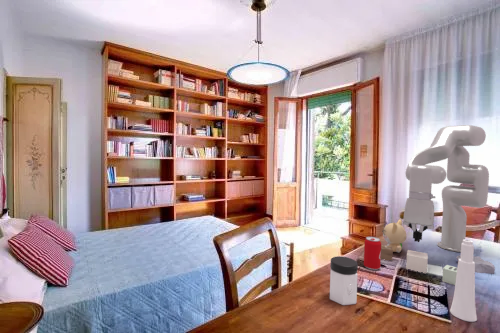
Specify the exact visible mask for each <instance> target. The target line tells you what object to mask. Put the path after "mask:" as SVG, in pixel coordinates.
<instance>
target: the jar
mask: <svg viewBox="0 0 500 333" xmlns="http://www.w3.org/2000/svg"><path fill="white" fill-rule="evenodd" d="M358 270H359V264H358V262H357V261H356V260H355V259H353V258H351V257H346V256H339V255H338V256H334V257H332V258H330V275H329V277H330V278H329V281H330V282H329V300H330V301H333V302H335V303H337V304H339V305H341V306H349V305H356V304H357V296H358V295H357V294H358Z"/></svg>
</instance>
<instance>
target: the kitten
mask: <svg viewBox="0 0 500 333" xmlns="http://www.w3.org/2000/svg"><path fill="white" fill-rule="evenodd" d="M382 237H383V239H384V240H385V242H387V244H386V245H385V246H392V249H393V252H394V253H400V252H401V251H402V249H403V243H405V241H406V240H407V231H406V229H405V227H404V226H403V221H402V219H401V218H399V219H398V221H397V222H389V223H388V224H386V225H385V226H384V227H383V230H382Z"/></svg>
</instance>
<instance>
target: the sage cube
mask: <svg viewBox="0 0 500 333" xmlns="http://www.w3.org/2000/svg"><path fill="white" fill-rule="evenodd" d="M457 267H458V266H457ZM457 267H456V266H453V265H449V264H446V265H445V266H444V267H442V282H444V283H447V284H448V285H449V284H450V285H454V286H455V284H456V275H457Z"/></svg>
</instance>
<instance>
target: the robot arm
mask: <svg viewBox="0 0 500 333" xmlns="http://www.w3.org/2000/svg"><path fill="white" fill-rule="evenodd" d="M486 134H487V133H486V132H485V130H484V128H483V127H481V126H476V125H471V124H465V125H461V124H460V125H449V126H447V125H446V126H444V127H441V128H440V129H438V131H437V132H436V134H435V136H434V138H433V140H432V142H431V143H430V146H429V147H427V148H425V149H423V150H422V151H420V152H418V153H417V154H415V155H414V156H413V157H412V158H411V159H410V161H409V163H408V165H407V167H406V169H405V172H404V173H405V178H406V180H408V181H409V188H408V189H409V190H408V197H407V198H406V201H405V206H404V210H403V211H404V212H403V221H402V225H405V226H408V227H409V228H410V229H411V231H412V233H413V234H412V239H414V242H417V243H420V241H422V240H423V232H425V231H427V230H434V229H435V225H434V223H435V206H434V205H435V204H434V200H432V199H436V194H433V193H432V185H437V184H438V185H439V184H442V183H443V182H444V181H445V180H446V179H447V181H448V182H450V183H455V184H462V185H446V186H444V187H443V188H442V190H441V200H442V219H441V220H442V221H441V222H442V223H441V236H440V241H438V242H437V243H436V244H437V245H436V246H438V247H439V248H441V249H444V250H446V251H449V252H450V251H451V252H456V253H461V244H462V243H463V240H466V234H467V220H468V219H467V218H468V216H467V213H466V211H465V209H464V208H463V207H469V208H470V207H471V208H477V209H479V208H480V209H481V208H484V207H486V206H487V203H488V197H489V196H488V194H489V182H490V174H489V170H488V168H487V166H485V165H482V164H470V156H471V155H470V152H469V151H468V150H467V149H466V148H465V147H478V146H479V147H480V146H481V145H483V144H484V143H485V141H486V137H487V135H486ZM446 159H447V164H446V166H447V167H446V170H445V168H444V167H442V166H440V165H428V164H432V163H436V162H440V161H441V162H442V161H444V160H446ZM463 184H464V185H465V184H466V185H473V187H472V186H466V185H465V186H464V185H463ZM417 225H419V229H417V228H418V227H417Z"/></svg>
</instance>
